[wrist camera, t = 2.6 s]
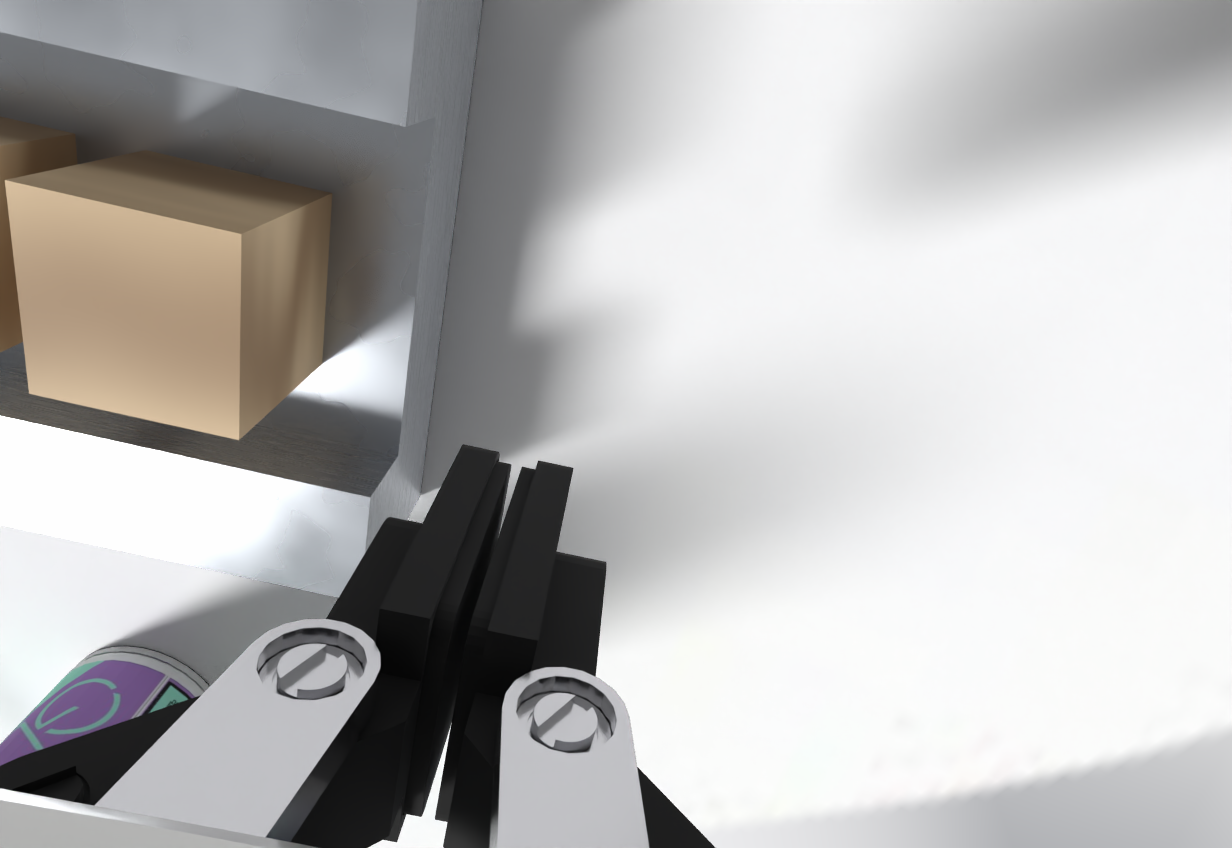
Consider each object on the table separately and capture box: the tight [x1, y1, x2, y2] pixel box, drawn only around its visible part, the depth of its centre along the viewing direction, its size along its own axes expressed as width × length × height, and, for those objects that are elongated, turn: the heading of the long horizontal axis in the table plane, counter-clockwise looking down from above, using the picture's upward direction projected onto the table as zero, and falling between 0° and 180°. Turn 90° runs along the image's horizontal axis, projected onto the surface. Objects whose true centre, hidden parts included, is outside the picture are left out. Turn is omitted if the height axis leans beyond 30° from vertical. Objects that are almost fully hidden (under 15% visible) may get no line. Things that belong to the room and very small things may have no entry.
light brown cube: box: [5, 150, 332, 440], centre depth 16 cm, size 4×4×4 cm
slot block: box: [0, 0, 483, 598], centre depth 19 cm, size 14×14×5 cm
